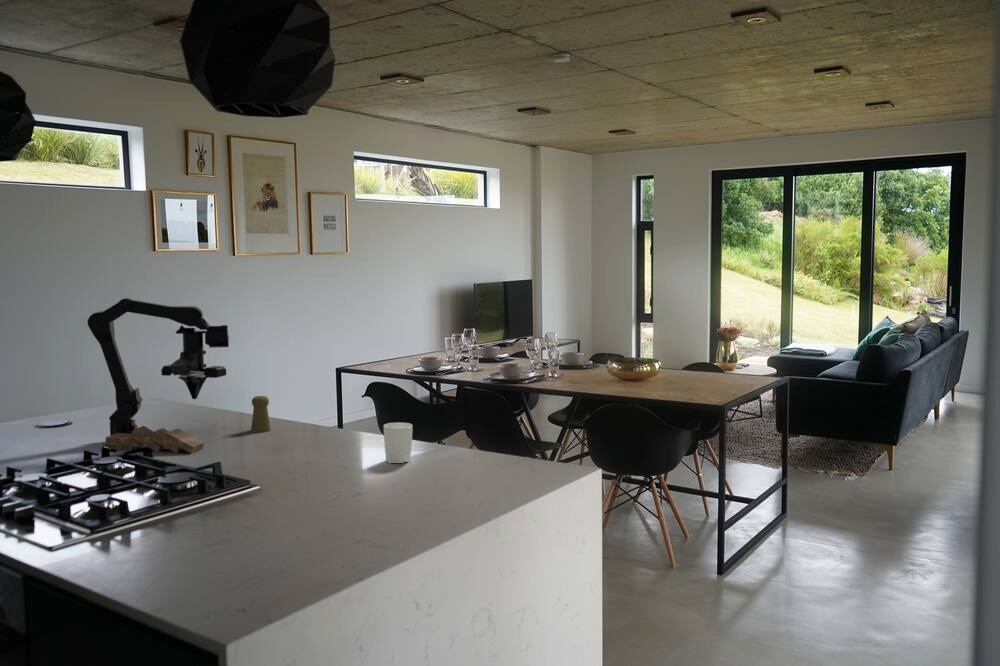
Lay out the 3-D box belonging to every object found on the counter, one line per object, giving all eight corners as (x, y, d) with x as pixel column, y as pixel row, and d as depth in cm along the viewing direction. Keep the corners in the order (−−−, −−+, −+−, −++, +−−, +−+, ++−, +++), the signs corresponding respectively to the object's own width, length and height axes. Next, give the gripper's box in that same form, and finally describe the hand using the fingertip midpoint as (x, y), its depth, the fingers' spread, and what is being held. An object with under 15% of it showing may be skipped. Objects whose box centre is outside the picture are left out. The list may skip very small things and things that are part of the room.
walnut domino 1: (136, 446, 227) (105, 444, 227) (146, 441, 233) (116, 439, 233) (137, 439, 226) (105, 437, 227) (146, 435, 232) (116, 432, 233)
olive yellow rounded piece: (267, 432, 252) (266, 398, 251) (248, 432, 252) (247, 397, 251) (273, 428, 258) (272, 394, 257) (254, 428, 258) (253, 394, 257)
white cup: (377, 462, 217) (377, 426, 216) (394, 456, 224) (394, 421, 223) (401, 466, 214) (401, 429, 213) (418, 459, 221) (418, 424, 220)
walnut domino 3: (156, 452, 226) (129, 436, 226) (167, 447, 232) (140, 431, 232) (160, 446, 226) (132, 430, 226) (170, 441, 232) (143, 425, 232)
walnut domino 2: (131, 452, 228) (103, 451, 229) (144, 448, 233) (116, 446, 235) (131, 446, 227) (102, 444, 229) (144, 441, 233) (116, 439, 235)
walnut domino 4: (176, 452, 225) (148, 438, 226) (187, 447, 231) (160, 434, 232) (178, 446, 225) (151, 432, 226) (189, 441, 231) (162, 428, 232)
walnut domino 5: (191, 453, 225) (163, 439, 226) (202, 448, 231) (175, 434, 231) (193, 447, 224) (166, 432, 225) (204, 442, 230) (177, 428, 231)
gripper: (148, 350, 235) (150, 402, 237) (206, 352, 232) (207, 405, 233) (171, 345, 246) (173, 395, 248) (226, 348, 242) (227, 398, 244)
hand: (194, 399), depth 243 cm, fingers closed
